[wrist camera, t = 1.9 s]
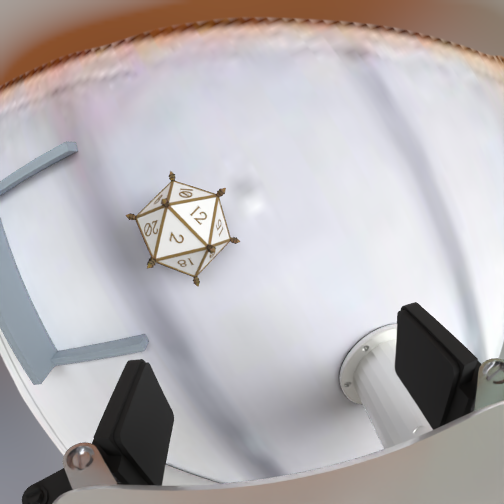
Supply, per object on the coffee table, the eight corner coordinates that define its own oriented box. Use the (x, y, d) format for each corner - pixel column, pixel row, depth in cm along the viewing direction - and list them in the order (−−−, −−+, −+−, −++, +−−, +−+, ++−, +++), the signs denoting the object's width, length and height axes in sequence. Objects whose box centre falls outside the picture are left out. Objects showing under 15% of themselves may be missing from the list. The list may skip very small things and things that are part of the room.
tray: (75, 142, 26) (44, 140, 20) (148, 341, 32) (134, 373, 27) (-14, 196, 26) (-45, 204, 21) (53, 358, 33) (33, 384, 27)
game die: (188, 230, 33) (131, 295, 26) (163, 158, 28) (88, 217, 21) (264, 238, 29) (213, 320, 22) (246, 154, 24) (172, 225, 17)
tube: (139, 484, 36) (266, 520, 41) (148, 483, 34) (282, 518, 38) (148, 459, 41) (269, 497, 46) (157, 455, 38) (286, 494, 43)
